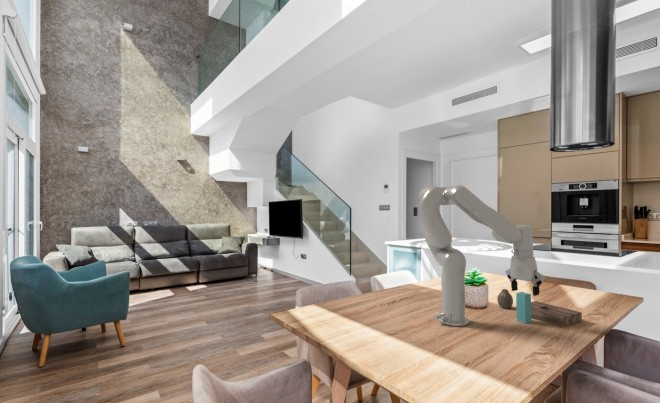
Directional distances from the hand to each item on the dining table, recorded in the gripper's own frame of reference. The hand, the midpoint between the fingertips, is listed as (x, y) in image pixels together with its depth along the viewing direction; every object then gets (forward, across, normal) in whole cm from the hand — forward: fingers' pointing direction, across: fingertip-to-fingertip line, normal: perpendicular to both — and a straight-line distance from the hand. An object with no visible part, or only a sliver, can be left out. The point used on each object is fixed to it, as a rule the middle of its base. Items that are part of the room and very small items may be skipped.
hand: (525, 292), depth 148 cm
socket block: (+13, +2, +13) cm, 18 cm away
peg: (+12, 0, -1) cm, 12 cm away
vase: (+12, -18, +10) cm, 24 cm away
